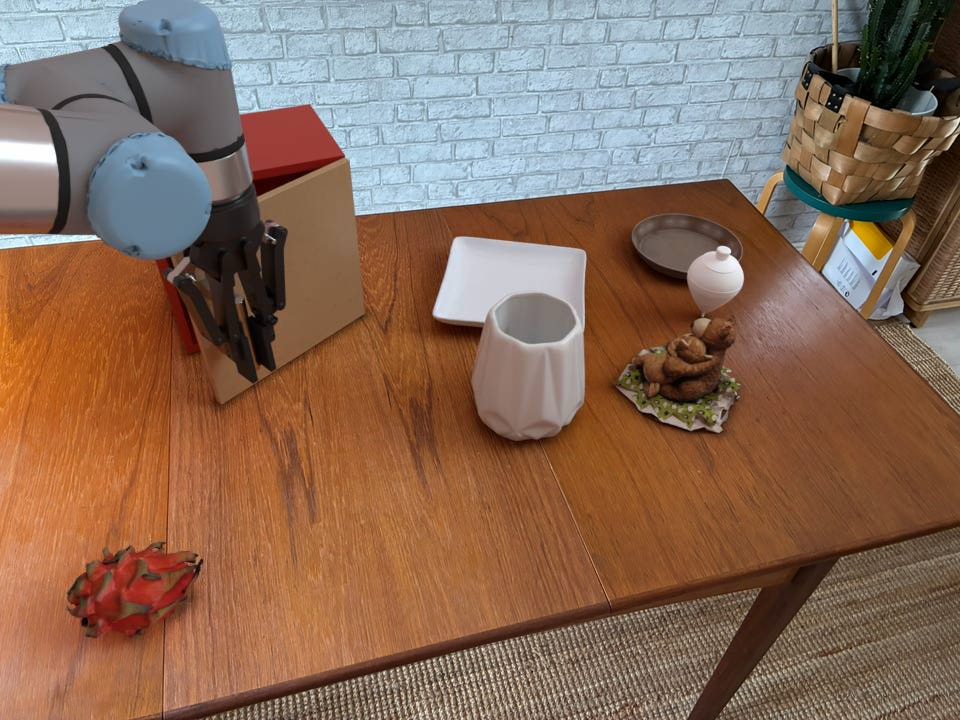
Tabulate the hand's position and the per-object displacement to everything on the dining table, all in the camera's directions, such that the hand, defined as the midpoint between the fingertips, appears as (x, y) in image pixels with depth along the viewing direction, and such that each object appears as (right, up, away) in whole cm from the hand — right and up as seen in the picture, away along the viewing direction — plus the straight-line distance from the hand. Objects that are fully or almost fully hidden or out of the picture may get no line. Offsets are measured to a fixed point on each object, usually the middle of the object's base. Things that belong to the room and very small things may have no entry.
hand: (257, 370), depth 81 cm
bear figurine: (+52, -3, +12) cm, 53 cm away
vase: (+31, -5, +9) cm, 33 cm away
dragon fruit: (-7, -23, -12) cm, 27 cm away
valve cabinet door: (+3, +1, +13) cm, 13 cm away
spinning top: (+59, +7, +24) cm, 64 cm away
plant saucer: (+59, +18, +35) cm, 71 cm away
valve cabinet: (-6, +10, +23) cm, 26 cm away
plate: (+31, +10, +25) cm, 41 cm away
